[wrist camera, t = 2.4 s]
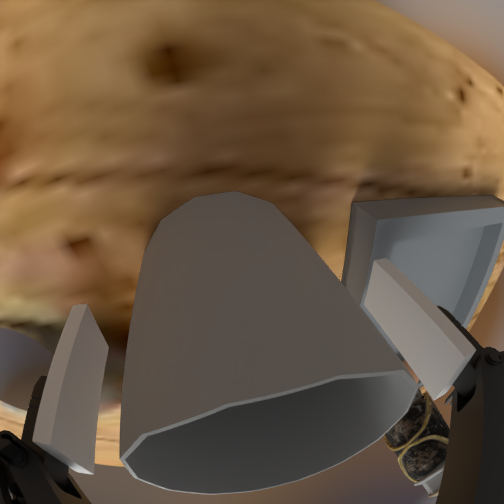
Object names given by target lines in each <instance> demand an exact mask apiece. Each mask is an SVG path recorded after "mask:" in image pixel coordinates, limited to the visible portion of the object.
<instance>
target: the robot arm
mask: <svg viewBox="0 0 504 504" xmlns="http://www.w3.org/2000/svg"><path fill="white" fill-rule="evenodd" d="M364 306H365V307H366V308H367V309H368V311H369V312H370V313H371V315H372V316H373V317H374V318H375V320H376V321H377V322H378V324H379V325H380V326H381V328H382V329H383V330H384V331H385V333H386V334H387V335H388V337H389V338H390V339H391V341H392V342H393V343H394V345H395V346H396V348H397V349H398V350H399V352H400V353H401V354H402V356H403V357H404V358H405V360H406V361H407V363H408V364H409V365H410V367H411V368H412V370H413V371H414V372H415V374H416V375H417V377H418V378H419V379H420V381H421V382H422V384H423V385H424V387H425V388H426V390H427V391H428V392H429V394H430V395H431V397H432V398H433V400H435V399H437V398H439V397H440V396H442V395H444V394H445V393H446V392H447V391H448V390H449V388H450V387H451V386H452V384H453V386H454V387H455V389H454V390H453V392H452V393H451V394H450V395H449V397H448V398H447V399H446V401H445V404H447V403H448V402H449V401H450V400H451V399H452V401H451V403H450V405H452V411H451V423H450V433H449V441H448V448H447V454H446V460H445V466H444V471H443V476H442V480H441V485H440V489H439V493H438V497H437V501H436V504H504V351H502V352H499V351H497V350H496V349H494V348H492V347H486V348H483V347H482V346H480V345H479V343H478V342H477V341H476V340H475V339H474V338H473V337H472V335H470V333H469V332H468V331H467V330H466V329H465V328H464V327H463V326H461V324H460V322H459V321H458V320H456V318H455V317H454V316H453V315H452V314H451V313H450V312H449V311H448V310H446V309H444V308H443V307H441V306H436V305H435V304H434V303H433V302H432V301H431V300H430V299H429V298H428V297H427V296H426V295H425V294H424V293H423V292H422V291H421V290H420V289H419V288H418V287H417V286H416V285H415V284H414V283H413V282H412V281H410V280H409V279H408V278H407V277H406V276H405V275H404V274H403V273H402V272H401V271H400V270H399V269H398V268H397V267H396V266H395V265H393V264H392V263H391V262H390V261H389V260H388V259H387V258H383V259H378V260H374V262H373V267H372V272H371V277H370V281H369V285H368V290H367V294H366V298H365V302H364ZM108 348H109V347H108V345H107V343H106V341H105V339H104V337H103V335H102V333H101V331H100V329H99V327H98V325H97V323H96V321H95V319H94V317H93V315H92V313H91V311H90V308H89V306H88V304H80V305H73V307H72V309H71V312H70V314H69V317H68V319H67V322H66V324H65V327H64V329H63V332H62V335H61V337H60V340H59V343H58V346H57V349H56V351H55V354H54V357H53V360H52V364H51V367H50V370H49V373H48V376H41V377H40V379H39V380H38V381H37V383H36V384H35V386H34V389H33V393H32V396H31V397H32V399H31V400H30V403H29V408H28V411H27V415H26V420H25V424H24V429H23V433H22V438H21V440H20V439H19V438H18V437H17V436H15V435H14V434H13V433H11V432H10V431H6V430H3V431H1V432H0V504H91V502H90V501H89V500H88V499H87V497H86V496H85V495H84V493H83V492H82V490H81V489H80V487H79V486H78V485H77V483H76V482H75V480H74V479H73V477H72V476H71V475H70V474H69V473H68V468H69V467H70V468H71V469H73V470H75V471H76V472H80V473H87V474H94V459H95V443H96V430H97V420H98V411H99V403H100V396H101V389H102V382H103V376H104V370H105V364H106V359H107V353H108ZM10 493H12V495H13V500H12V499H11V496H10Z"/></svg>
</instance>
